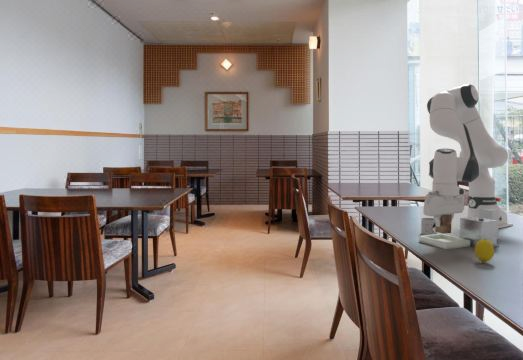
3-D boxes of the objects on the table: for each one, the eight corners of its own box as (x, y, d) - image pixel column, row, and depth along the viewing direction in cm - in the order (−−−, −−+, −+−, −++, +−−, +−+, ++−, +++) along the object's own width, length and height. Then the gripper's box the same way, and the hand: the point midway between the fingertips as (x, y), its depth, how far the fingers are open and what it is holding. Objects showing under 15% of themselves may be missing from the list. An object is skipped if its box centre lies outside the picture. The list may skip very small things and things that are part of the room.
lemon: (470, 260, 140) (471, 237, 139) (486, 260, 140) (487, 236, 140) (480, 265, 134) (481, 240, 134) (497, 264, 135) (498, 240, 134)
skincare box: (499, 239, 173) (500, 210, 172) (491, 240, 171) (492, 210, 170) (485, 236, 179) (486, 208, 178) (478, 237, 177) (479, 208, 176)
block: (443, 231, 167) (444, 213, 167) (451, 233, 163) (451, 214, 163) (435, 231, 166) (435, 213, 165) (442, 233, 162) (443, 215, 162)
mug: (435, 236, 181) (436, 220, 180) (419, 234, 184) (419, 219, 184) (440, 232, 189) (440, 217, 188) (424, 230, 192) (424, 216, 192)
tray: (442, 239, 174) (442, 233, 173) (470, 246, 161) (470, 240, 160) (419, 241, 169) (419, 235, 169) (445, 249, 156) (446, 242, 156)
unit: (474, 240, 170) (475, 214, 169) (499, 246, 160) (500, 218, 159) (457, 242, 167) (457, 215, 166) (481, 248, 156) (482, 220, 156)
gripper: (433, 192, 156) (432, 229, 157) (468, 189, 166) (466, 224, 167) (419, 191, 161) (418, 227, 162) (453, 188, 171) (452, 222, 172)
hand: (443, 225), depth 164 cm, fingers closed on block, 4 cm apart
